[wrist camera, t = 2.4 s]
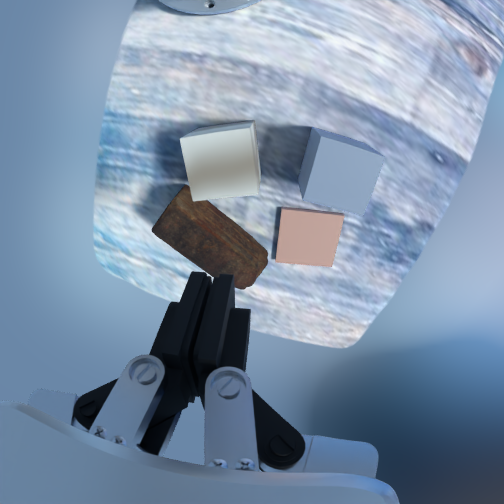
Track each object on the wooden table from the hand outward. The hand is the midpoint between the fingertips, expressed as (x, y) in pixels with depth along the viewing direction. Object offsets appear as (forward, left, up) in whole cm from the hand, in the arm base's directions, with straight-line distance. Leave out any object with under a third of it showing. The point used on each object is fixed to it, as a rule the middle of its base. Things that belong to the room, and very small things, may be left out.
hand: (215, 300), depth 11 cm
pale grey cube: (-2, -2, -16) cm, 16 cm away
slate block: (-2, +7, -16) cm, 18 cm away
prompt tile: (+6, +6, -16) cm, 18 cm away
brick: (+6, -3, -16) cm, 17 cm away
